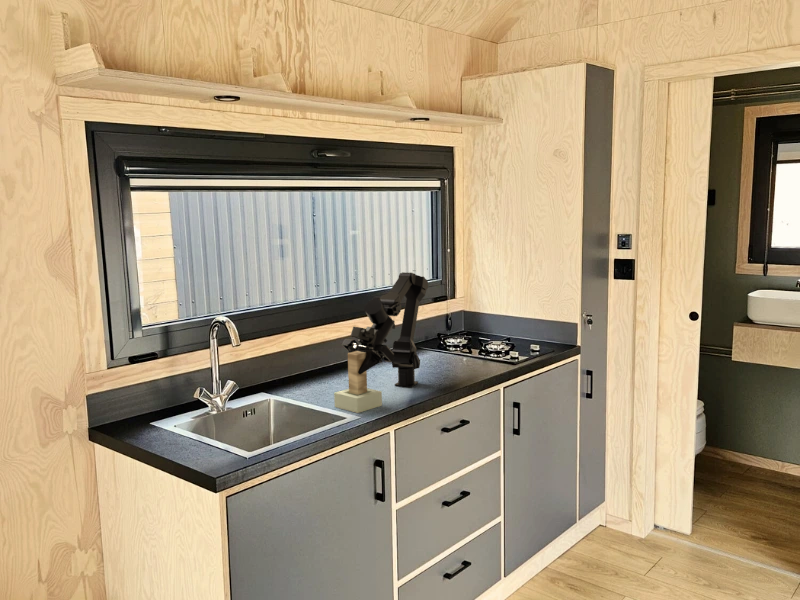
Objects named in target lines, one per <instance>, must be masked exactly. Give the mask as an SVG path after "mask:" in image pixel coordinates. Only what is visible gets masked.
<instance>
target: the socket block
mask: <svg viewBox="0 0 800 600" xmlns="http://www.w3.org/2000/svg"><path fill="white" fill-rule="evenodd" d="M382 392H383V391H381V390H377V389H374V388H373V389H372V388H368V387H367V392H366V393H363V394H359V395H356V394H352V393H349V388H346V389H343V390H340V391H335V392H334V394H333V397H334V408H337V409H341V410H345V411H348V412H353V413H356V414H359V413H362V412H366V411H369V410H372V409H374V408H379V407H381V406H383V395H382Z"/></svg>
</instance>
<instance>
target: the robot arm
mask: <svg viewBox="0 0 800 600" xmlns="http://www.w3.org/2000/svg"><path fill="white" fill-rule="evenodd" d="M428 288H429V282H428V279H427V278H425V276H421V275H417V274H415V273H413V272H401V273H399V275H398V278H397V279H396V281H395V282H394V284H393V285H392V286H391V289H390V290H389V292H388V293H386V294H382V295H381V296H373V298H372V299H371V300H369V301H368V302H366V304H364V306H363V307H364V310H363V311H364V312H365V314H366V315H367V317H368V320H370V322H371V323H372V325H371V326H366V327H364V328H363V327H360V326H353V327H352V329H351V333H350V337H352V338H356V339H357V341H356V340H355V339H351V338H345V339H343V341H342V343H341V346H342V347H343V348H344V349H345V350H346V351H347V353H351V352H355V351H360V352H365V353H366V357H365V359H364V361H363V363H362V365H361V367H360V369H359V371H358V373H359V374H362V373H363V372H365V371H369V369H372V368H373V367H375V366H377V365H378V364H382V363H383V360H384V362H387V363H391V366H392V369H395V368H397V378H398V379H397V382H396V383H394V387H404V388H405V387H406V388H412V387H415V386H416V385H417V384H418V383H419V381H418V380H417V381H416V379H415V378H416V377H415V373H416V372H415V370H417V369H420V366H421V359H420V357H419V356H418V353H417V350H418V349H417V347H416V344H415V342H414V339H415V338H414V337H415V332H416V325H417V320H418V319H417V318H418V315H419V313H418V312H419V306H420V302H421V300H422V299H424V297H425V296H426V292H427V290H428ZM404 297H405V298H406V299H405V304H404V311H403V317H402V323H401V327H400V334H399V338H398V339H397V340H394V341H393V343H392V349H390V347H389V346H388V345H387V341H388V340H387V336H388V335H389V333H390V331H391V330H392V329H393V330H395V329H396V324H395V320H394V319H392V317H398V316H399V314H400V313H401V311H402V307H403V306H402V300H403V299H404ZM358 342H359V343H360V344H359V343H358ZM382 359H383V360H382Z"/></svg>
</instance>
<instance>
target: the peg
mask: <svg viewBox="0 0 800 600" xmlns="http://www.w3.org/2000/svg"><path fill="white" fill-rule="evenodd" d="M365 357H366V352H360V351H355V352H351V353H349V352H347V374H348V375H347V376H348V389H349V393H352V394H356V395H359V394H363V393H366V392H367V388H368V382H367V381H368V372H367V371H368V370H367V371H365V372H363V373H362V374H359V373H358V371H359V369H360V367H361V365H362V363H363V361H364V359H365Z"/></svg>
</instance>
